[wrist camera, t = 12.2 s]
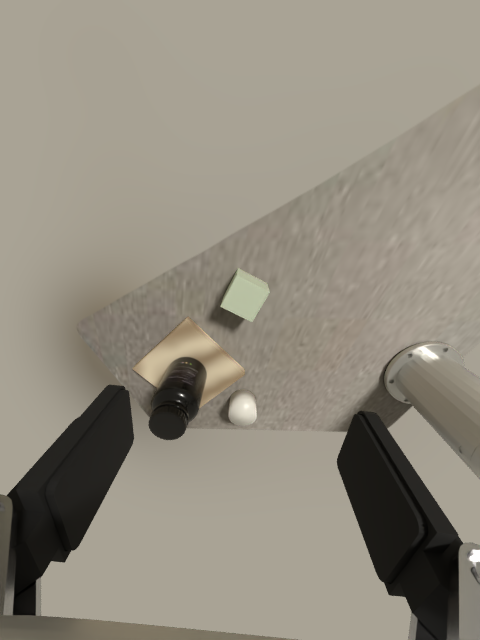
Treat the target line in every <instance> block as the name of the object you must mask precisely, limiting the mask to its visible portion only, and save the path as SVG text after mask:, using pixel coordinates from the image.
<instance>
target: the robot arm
mask: <svg viewBox="0 0 480 640" xmlns="http://www.w3.org/2000/svg"><path fill="white" fill-rule="evenodd" d="M384 383H385V387H386V389H387V390H388V392H389V393H390V394H391V395H392V396H393V397H394V398H395V399H396V400H398V401H400V402H403V403H407V404H412V405H413V406H414V408H415V409H416V410H417V411H418V412H419V413H420V414H421V415H422V416H423V417H424V419H425V420H426V421H427V422H428V423H429V424H430V425H431V426H432V427H433V428H434V429H435V431H436V432H437V433H438V434H439V435H440V436H441V437H442V438H443V439H444V441H445V442H446V443H447V444H448V445H449V446H450V447H451V448H452V449H453V451H454V452H455V453H456V454H457V455H458V456H459V457H460V458H461V459H462V460H463V461H464V462H465V464H466V465H467V466H468V467H469V468H470V469H471V470H472V471H473V472H474V473H475V475H476V476H477V477H478V478H479V479H480V378H479V377H478V376H477V375H475V374H474V373H472V372H471V371H469V370H467V369H466V368H465V367H464V360H463V358H462V355H461V354H460V353H459V352H458V351H457V350H456V349H454V348H453V347H451V346H449V345H447V344H444V343H441V342H424V343H419V344H416V345H413V346H411V347H409V348H407V349H405V350H403V351H402V352H401V353H399V354H398V355H397V356H396V357H395V358H394V359H393V360H392V361H391V362H390V364H389V365H388V367H387V369H386V371H385V376H384ZM133 440H134V434H133V424H132V416H131V406H130V397H129V391H128V390H125V387H124V386H117V385H108V386H107V387H106V388H105V389H104V390H103V391H102V392H101V393H100V394H99V396H98V397H97V398H96V399H95V400H94V401H93V402H92V403H91V405H90V406H89V407H88V408H87V409H86V410H85V412H84V413H83V414H82V415H81V416H80V417H79V418H77V419H75V420H74V421H73V422H72V423H71V424H70V425H69V426H68V428H67V429H66V430H65V431H64V432H63V433H62V434H61V436H60V437H59V438H58V439H57V440H56V441H55V442H54V443H53V445H52V446H51V447H50V448H49V449H48V450H47V451H46V452H45V453H44V454H43V456H42V457H41V458H40V459H39V460H38V461H37V462H36V463H35V464H34V466H33V467H32V468H31V469H30V470H29V471H28V472H27V473H26V475H25V476H24V477H23V478H22V479H21V480H20V481H19V483H18V484H17V485H16V486H15V487H14V488H13V489H12V490H11V491H10V492H9V494H8V495H7V496H5V495H0V640H295V639H286V638H276V637H265V636H255V635H246V634H236V633H226V632H216V631H206V630H196V629H186V628H175V627H165V626H154V625H143V624H131V623H121V622H111V621H101V620H89V619H75V618H61V617H47V616H41V576H42V575H43V573H44V572H45V570H46V569H47V567H48V565H49V563H50V562H51V561H56V562H65V561H66V559H67V557H68V555H69V554H70V552H71V550H75V549H76V548H77V547H78V546H79V544H80V543H81V541H82V539H83V537H84V535H85V533H86V531H87V529H88V528H89V526H90V524H91V522H92V520H93V518H94V516H95V514H96V513H97V510H98V509H99V507H100V505H101V503H102V501H103V499H104V497H105V495H106V494H107V492H108V490H109V488H110V486H111V484H112V482H113V480H114V478H115V477H116V475H117V473H118V471H119V469H120V467H121V465H122V463H123V461H124V460H125V458H126V456H127V454H128V452H129V450H130V448H131V446H132V444H133ZM337 465H338V469H339V472H340V475H341V477H342V480H343V483H344V486H345V488H346V491H347V494H348V497H349V499H350V502H351V505H352V508H353V510H354V513H355V516H356V519H357V521H358V524H359V527H360V529H361V532H362V535H363V538H364V540H365V543H366V546H367V548H368V551H369V554H370V557H371V560H372V562H373V565H374V568H375V571H376V573H377V575H378V577H379V579H380V580H381V581H382V582H384V583H385V586H386V589H387V591H388V594H389V595H392V596H403V597H406V599H407V602H408V604H409V606H410V609H411V611H412V613H411V621H410V629H409V637H408V640H480V545H477V544H474V543H464V544H463V542H462V541H461V540H460V538H459V537H458V534H457V532H456V530H455V529H454V527H453V526H452V524H451V523H450V522H449V520H448V518H447V517H446V516H445V514H444V513H443V511H442V510H441V508H440V507H439V505H438V504H437V502H436V501H435V499H434V498H433V496H432V495H431V493H430V492H429V490H428V489H427V487H426V486H425V484H424V483H423V481H422V480H421V478H420V477H419V476H418V474H417V473H416V471H415V470H414V469H413V467H412V465H411V464H410V462H409V461H408V459H407V458H406V456H405V455H404V453H403V452H402V450H401V449H400V447H399V446H398V444H397V443H396V442H395V440H394V439H393V437H392V436H391V434H390V433H389V431H388V430H387V428H386V427H385V425H384V424H383V422H382V421H381V419H380V418H379V416H378V415H377V414H376V413H374V412H365V411H359V412H358V414H355V415H354V416H353V419H352V422H351V424H350V427H349V429H348V432H347V435H346V437H345V440H344V442H343V445H342V448H341V450H340V453H339V455H338V458H337Z"/></svg>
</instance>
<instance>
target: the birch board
mask: <svg viewBox="0 0 480 640" xmlns="http://www.w3.org/2000/svg"><path fill="white" fill-rule="evenodd" d="M180 357H192V358H195V359H197V360H198V361H200V362H201V363H202V364H203V365H204V367H205V369H206V372H207V378H206V383H205V387H204V391H203V395H202V399H201V403H200V407H202V406H203V405H204V404H206V403H207V402H208V401H210V400H211V399H212V398H214V397H215V396H216V395H218V394H219V393H221V392H222V391H223V390H225V389H226V388H227V387H229V386H230V385H231V384H233V383H234V382H235V381H237V380H238V379H239V378H241V377H242V376H244V375H245V369H243V368H242V367H241V366H240V365H239V364H238V363H237V362H236V361H235V360H234V359H233V358H232V357H231V356H230V355H228V354H227V353H226V352H225V351H224V350H223V349H222V348H221V347H220V346H219V345H218V344H217V343H216V342H215V341H214V340H212V339H211V338H210V337H209V336H208V335H207V334H206V333H205V332H204V331H203V330H202V329H201V328H200V327H199V326H198V325H196V324H195V323H194V322H193V321H192V320H191V319H190V318H189V317H187V318H185V319H184V320H183V321H182V322H181V323H180V324H179V325H178V326H177V327H176V328H175V329H174V330H172V331H171V332H170V333H169V334H168V335H167V336H166V337H165V338H164V339H163V340H162V341H161V342H159V343H158V344H157V345H156V346H155V347H154V348H153V349H152V350H151V351H150V352H149V353H148V354H146V355H145V356H144V357H143V358H142V359H141V360H140V361H139V362H138V363H137V364H136V365H135V366H134V367H133V370H135V371H136V372H137V373H138V374H140V375H141V376H142V377H143V378H145V379H146V380H147V381H149V382H150V383H151V384H152V385H154V386H155V387H156V388H158V386H159V384H160V382H161V380H162V378H163V377H164V375H165V373H166V371H167V369H168V367H169V366H170V364H171V363H172V362H173V361H174V360H176V359H178V358H180ZM200 407H199V408H200Z"/></svg>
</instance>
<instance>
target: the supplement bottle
mask: <svg viewBox="0 0 480 640" xmlns="http://www.w3.org/2000/svg"><path fill="white" fill-rule="evenodd" d="M206 378H207V372H206V369H205V367H204V365H203V364H202V363H201V362H200V361H198V360H197V359H195V358H192V357H180V358H178V359H176V360H174V361H173V362H172V363H171V364H170V366H169V367H168V369H167V371H166V373H165V375H164V377H163V378H162V380H161V382H160V384H159V386H158V388H157V390H156V391H155V393H154V395H153V397H152V401H151V407H152V411H153V412H152V415H151V417H150V420H149V428H150V430H151V432H152V433H153V434H154V435H155V436H157V437H159V438H161V439H164V440H174V439H178V438H179V437H181V436H182V435H183V434H184V432H185V430H186V427H187V425H188V423H189V422H190V421H192V420H193V419H194V418H195V417H196V415H197V413H198V410H199V407H200V403H201V399H202V395H203V391H204V387H205V383H206Z"/></svg>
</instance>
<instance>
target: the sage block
mask: <svg viewBox="0 0 480 640" xmlns="http://www.w3.org/2000/svg"><path fill="white" fill-rule="evenodd" d="M269 293H270V291H269V288H268V285H267V283H265V282H263V281H262V280H260V279H258V278H256V277H254V276H252V275H250V274H248V273H246V272H244V271H243V270H241V269H239V268H238V269H237V271H236V273H235V275H234V277H233V279H232V281H231V283H230V285H229V287H228V289H227V291H226V293H225V295H224V297H223V300H222V303H221V306H220V307H222V308H224V309H226V310H228V311H230V312H232V313H234V314H236V315H238V316H240V317H242V318H244V319H246V320H248V321H250V322H252V321H253V320H254V318H255V316H256V315H257V313H258V311H259V309H260V308H261V306H262V304H263V303H264V301H265V299H266V298H267V296H268V294H269Z"/></svg>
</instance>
